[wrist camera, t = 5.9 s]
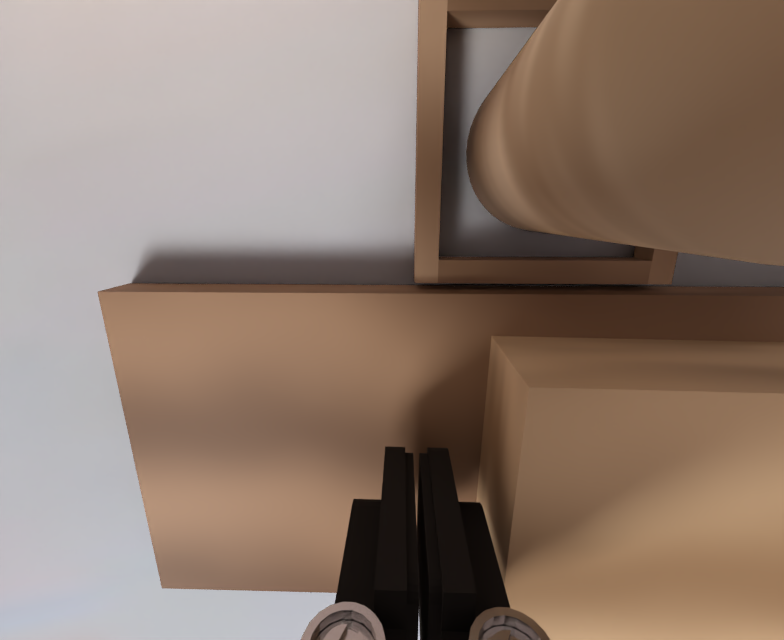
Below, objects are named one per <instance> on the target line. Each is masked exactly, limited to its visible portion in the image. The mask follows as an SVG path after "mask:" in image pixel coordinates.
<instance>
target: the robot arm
mask: <svg viewBox="0 0 784 640" xmlns="http://www.w3.org/2000/svg"><path fill="white" fill-rule="evenodd" d="M418 615H419V619H420V640H550V639H549V637H548V635H547V634H546V632H545V631H544V630H543V629H542V628H541V627H540V626H539V625H538V624H537V623H536V622H535V621H534V620H533V619H532V618H530V617H528V616H527V615H525V614H524V613H522V612H520V611H517V610H514V609H511V608H510V604H509V601H508V597H507V593H506V590H505V586H504V582H503V579H502V575H501V572H500V568H499V564H498V561H497V557H496V553H495V550H494V546H493V542H492V539H491V535H490V532H489V528H488V524H487V521H486V517H485V513H484V510H483V507H482V504H481V503H480V502H459V501H458V496H457V491H456V486H455V480H454V475H453V470H452V465H451V460H450V455H449V450H448V448H430V447H427V453H419V475H418V504H417V525H416V503H415V481H414V459H413V453H405V447H390V446H385V455H384V469H383V482H382V495H381V500H380V499H354V500H353V503H352V508H351V514H350V519H349V525H348V531H347V537H346V542H345V548H344V554H343V560H342V565H341V571H340V577H339V583H338V588H337V594H336V600H335V604H333V605H330V606H328V607H327V608H325V609H323V610H322V611H320V612H319V613H318V614H317V615H316V616H315V617H314V618H313V619H312V620H311V621H310V622H309V624H308V626H307V628H306V630H305V632H304V634H303V635H302V638H301V640H418Z"/></svg>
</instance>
